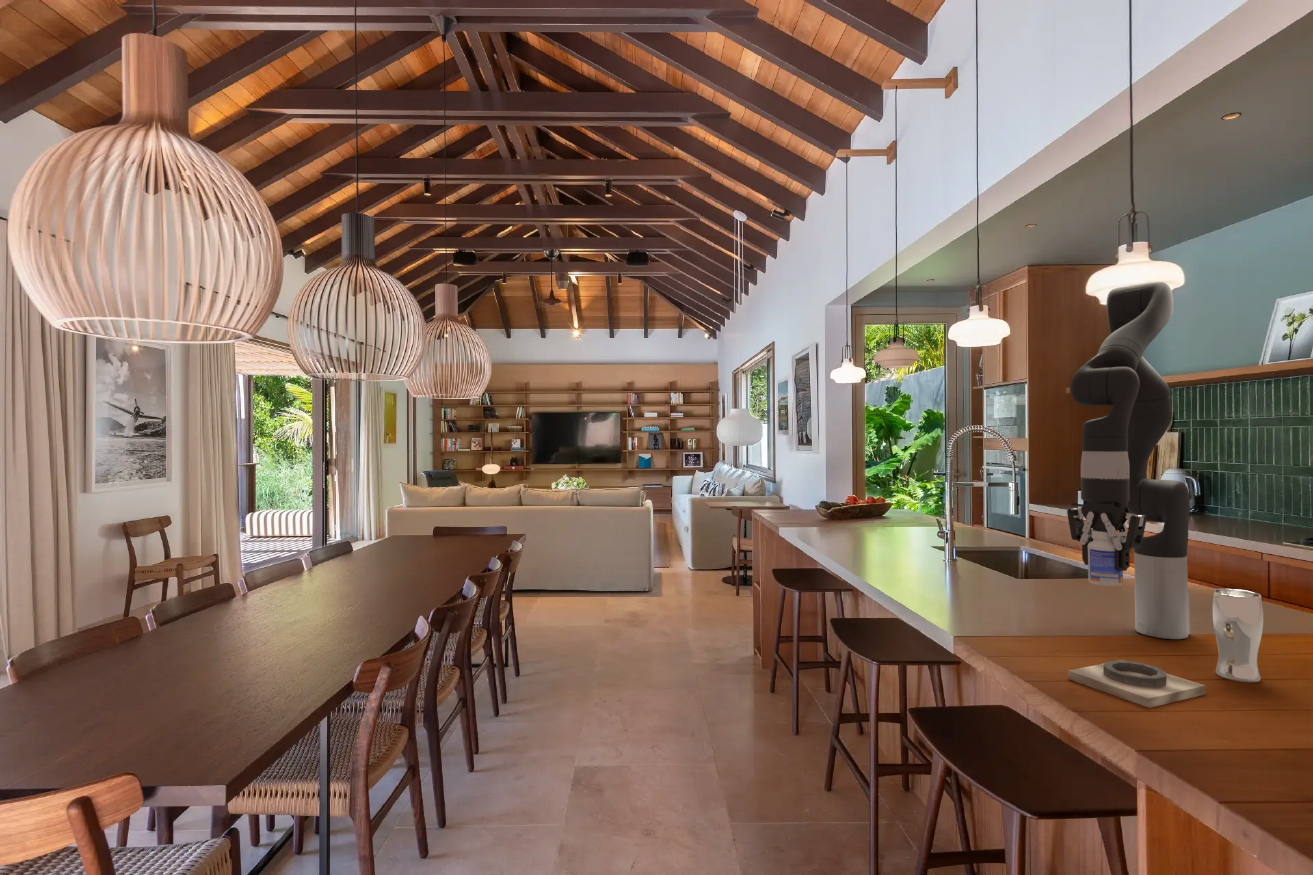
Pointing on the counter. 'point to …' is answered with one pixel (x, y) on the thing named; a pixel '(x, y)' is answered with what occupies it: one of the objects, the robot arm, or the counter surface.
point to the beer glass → (1237, 633)
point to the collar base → (1138, 692)
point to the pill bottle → (1103, 560)
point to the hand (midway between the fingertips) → (1105, 567)
